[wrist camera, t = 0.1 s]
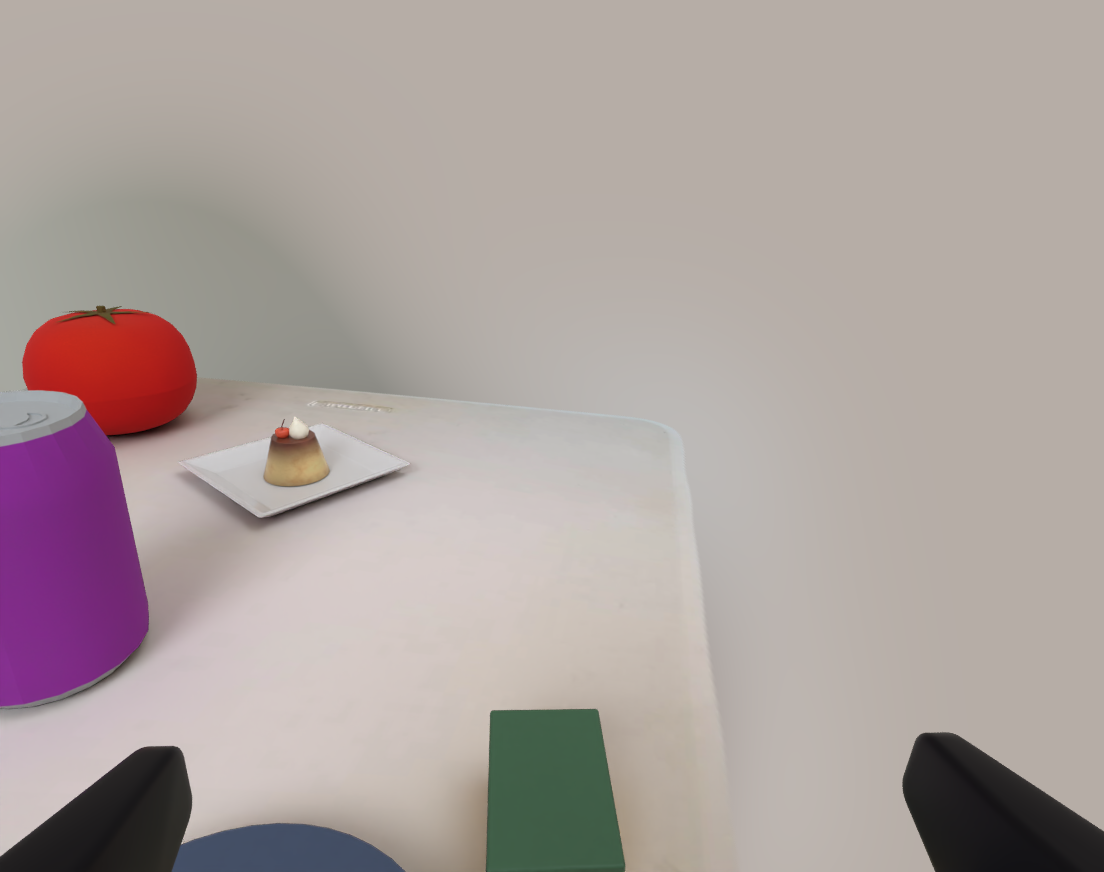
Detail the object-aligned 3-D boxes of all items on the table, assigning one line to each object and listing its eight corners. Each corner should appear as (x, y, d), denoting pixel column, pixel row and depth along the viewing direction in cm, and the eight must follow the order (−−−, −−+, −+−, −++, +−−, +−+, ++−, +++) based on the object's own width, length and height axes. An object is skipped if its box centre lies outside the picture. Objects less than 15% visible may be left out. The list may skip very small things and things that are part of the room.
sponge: (616, 945, 20) (626, 866, 19) (484, 950, 19) (485, 871, 18) (591, 777, 25) (598, 707, 24) (488, 779, 25) (490, 709, 24)
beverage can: (-91, 742, 25) (-208, 461, 21) (-11, 622, 32) (-86, 390, 28) (136, 699, 28) (74, 441, 23) (166, 596, 35) (123, 381, 30)
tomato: (177, 398, 64) (159, 290, 60) (224, 431, 56) (206, 311, 52) (25, 424, 55) (-7, 302, 52) (57, 468, 48) (22, 329, 44)
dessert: (179, 475, 48) (168, 414, 46) (323, 434, 57) (319, 382, 55) (261, 533, 41) (252, 464, 39) (411, 476, 50) (409, 418, 48)
